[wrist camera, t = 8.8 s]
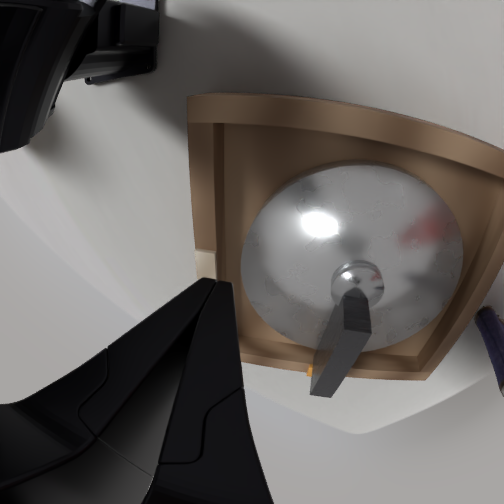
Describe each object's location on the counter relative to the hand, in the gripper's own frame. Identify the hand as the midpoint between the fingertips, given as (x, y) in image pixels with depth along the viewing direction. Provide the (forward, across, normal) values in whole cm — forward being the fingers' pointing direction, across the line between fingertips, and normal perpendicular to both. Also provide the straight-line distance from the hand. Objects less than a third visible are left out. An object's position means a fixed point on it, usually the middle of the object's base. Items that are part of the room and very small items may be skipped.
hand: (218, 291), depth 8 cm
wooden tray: (+12, -7, +6) cm, 16 cm away
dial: (+11, -7, +7) cm, 15 cm away
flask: (+12, -26, +12) cm, 31 cm away
